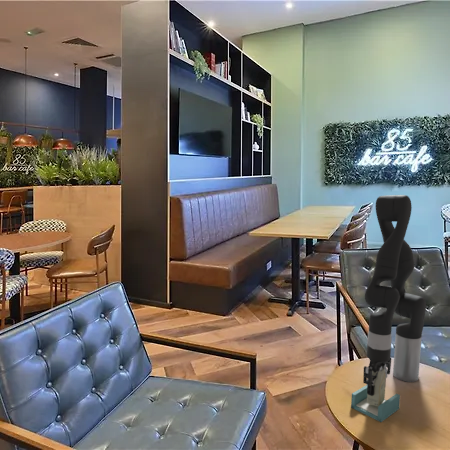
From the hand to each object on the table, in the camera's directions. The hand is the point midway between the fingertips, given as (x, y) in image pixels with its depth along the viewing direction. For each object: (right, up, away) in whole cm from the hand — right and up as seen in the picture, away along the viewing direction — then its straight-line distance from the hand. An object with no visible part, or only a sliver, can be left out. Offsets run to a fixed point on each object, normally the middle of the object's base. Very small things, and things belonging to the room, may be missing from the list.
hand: (376, 390), depth 141 cm
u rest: (0, -6, +1) cm, 6 cm away
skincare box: (0, -4, +1) cm, 4 cm away
